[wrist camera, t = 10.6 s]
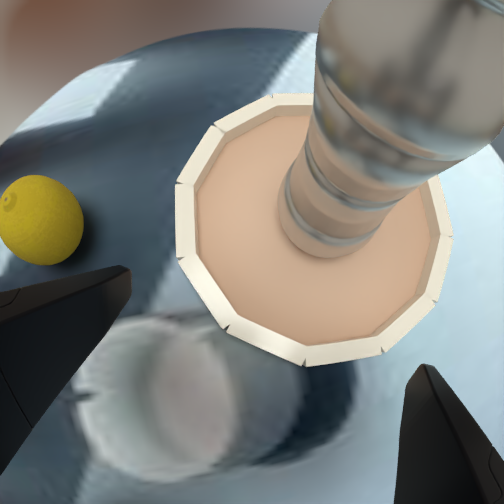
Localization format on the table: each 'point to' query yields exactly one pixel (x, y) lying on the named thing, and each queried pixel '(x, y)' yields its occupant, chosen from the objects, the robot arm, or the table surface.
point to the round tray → (290, 256)
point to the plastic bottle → (390, 112)
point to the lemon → (40, 220)
